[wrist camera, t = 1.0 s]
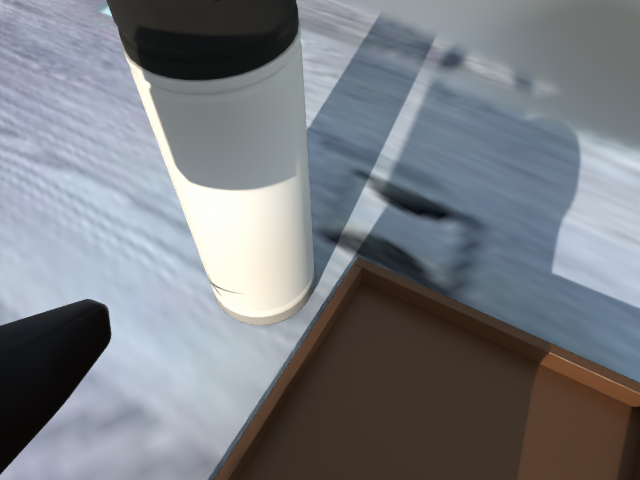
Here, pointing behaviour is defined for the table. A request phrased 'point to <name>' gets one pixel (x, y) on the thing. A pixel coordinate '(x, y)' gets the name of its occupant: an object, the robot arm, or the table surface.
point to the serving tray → (435, 398)
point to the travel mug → (231, 140)
